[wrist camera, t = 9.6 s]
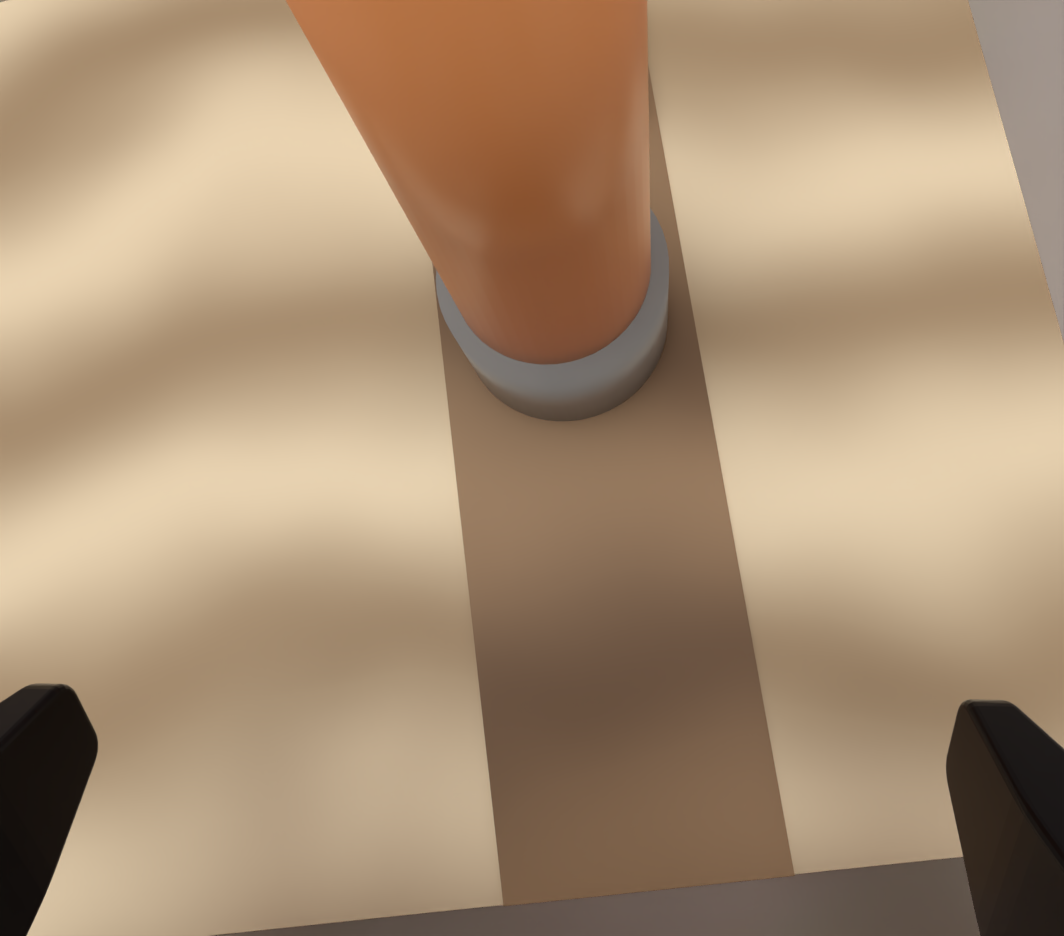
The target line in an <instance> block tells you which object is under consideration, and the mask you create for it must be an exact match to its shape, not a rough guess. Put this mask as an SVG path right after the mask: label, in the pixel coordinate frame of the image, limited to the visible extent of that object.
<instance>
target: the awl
mask: <svg viewBox="0 0 1064 936" xmlns="http://www.w3.org/2000/svg"><path fill="white" fill-rule="evenodd" d="M286 2H287V4H288V6H289V7H290V9H291V11H292V13H293V15H294V16H295V18H296V20H297V22H298V24H299V25H300V27H301V29H302V31H303V32H304V34H305V36H306V38H307V40H308V41H309V43H310V45H311V47H312V49H313V50H314V52H315V54H316V56H317V57H318V59H319V61H320V63H321V65H322V66H323V68H324V70H325V72H326V74H327V75H328V77H329V79H330V81H331V82H332V84H333V86H334V88H335V90H336V91H337V93H338V95H339V97H340V99H341V100H342V102H343V104H344V106H345V107H346V109H347V111H348V113H349V115H350V116H351V118H352V120H353V122H354V124H355V125H356V127H357V129H358V131H359V132H360V134H361V136H362V138H363V140H364V141H365V143H366V145H367V147H368V149H369V150H370V152H371V154H372V156H373V157H374V159H375V161H376V163H377V165H378V166H379V168H380V170H381V172H382V174H383V175H384V177H385V179H386V181H387V182H388V184H389V186H390V188H391V190H392V191H393V193H394V195H395V197H396V199H397V200H398V202H399V204H400V206H401V207H402V209H403V211H404V213H405V215H406V216H407V218H408V220H409V222H410V224H411V225H412V227H413V229H414V231H415V232H416V234H417V236H418V238H419V240H420V241H421V243H422V245H423V247H424V249H425V250H426V252H427V254H428V256H429V257H430V259H431V261H432V263H433V265H434V266H435V268H436V289H437V297H438V301H439V305H440V309H441V312H442V314H443V317H444V320H445V322H446V324H447V325H448V327H449V329H450V331H451V333H452V334H453V336H454V338H455V339H456V341H457V342H458V344H459V346H460V347H461V349H462V350H463V352H464V354H465V355H466V357H467V358H468V360H469V362H470V363H471V365H472V367H473V368H474V370H475V371H476V373H477V375H478V376H479V378H480V379H481V381H482V382H483V383H484V385H485V386H486V387H487V389H488V390H489V391H490V392H491V393H492V394H493V395H494V396H495V397H496V398H498V399H499V400H500V401H502V402H503V403H504V404H506V405H507V406H509V407H511V408H512V409H514V410H516V411H518V412H520V413H523V414H525V415H528V416H530V417H534V418H538V419H542V420H549V421H575V420H582V419H586V418H590V417H594V416H597V415H600V414H602V413H605V412H607V411H609V410H611V409H613V408H615V407H616V406H618V405H620V404H622V403H623V402H624V401H626V400H627V399H628V398H630V397H631V396H632V395H633V394H634V393H635V392H636V391H637V390H638V389H639V388H640V387H642V385H643V384H644V383H645V382H646V380H647V379H648V378H649V377H650V375H651V373H652V372H653V370H654V368H655V367H656V365H657V363H658V361H659V358H660V356H661V354H662V351H663V347H664V344H665V340H666V333H667V319H668V288H669V256H668V249H667V243H666V240H665V237H664V233H663V230H662V228H661V226H660V224H659V222H658V219H657V217H656V216H655V214H654V213H653V211H652V210H651V208H650V164H649V92H648V21H647V0H286Z"/></svg>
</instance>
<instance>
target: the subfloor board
mask: <svg viewBox="0 0 1064 936" xmlns="http://www.w3.org/2000/svg"><path fill="white" fill-rule="evenodd" d="M647 21H648V92H649V164H650V208H651V210H652V211H653V213H654V214H655V216H656V217H657V219H658V222H659V224H660V226H661V228H662V230H663V233H664V237H665V240H666V243H667V249H668V256H669V288H668V319H667V333H666V340H665V344H664V347H663V351H662V354H661V356H660V358H659V361H658V363H657V365H656V367H655V368H654V370H653V372H652V373H651V375H650V377H649V378H648V379H647V380H646V382H645V383H644V384H643V385H642V387H640V388H639V389H638V390H637V391H636V392H635V393H634V394H633V395H632V396H631V397H630V398H628V399H627V400H626V401H624V402H623V403H622V404H620V405H618V406H616V407H615V408H613V409H611V410H609V411H607V412H605V413H602V414H600V415H597V416H594V417H590V418H586V419H582V420H575V421H549V420H542V419H538V418H534V417H530V416H528V415H525V414H523V413H520V412H518V411H516V410H514V409H512V408H511V407H509V406H507V405H506V404H504V403H503V402H502V401H500V400H499V399H498V398H496V397H495V396H494V395H493V394H492V393H491V392H490V391H489V390H488V389H487V387H486V386H485V385H484V383H483V382H482V381H481V379H480V378H479V376H478V375H477V373H476V371H475V370H474V368H473V367H472V365H471V363H470V362H469V360H468V358H467V357H466V355H465V354H464V352H463V350H462V349H461V347H460V346H459V344H458V342H457V341H456V339H455V338H454V336H453V334H452V333H451V331H450V329H449V327H448V325H447V324H446V322H445V320H444V317H443V314H442V312H441V309H440V305H439V301H438V297H437V289H436V268H435V266H434V265H433V263H432V261H431V259H430V257H429V256H428V254H427V252H426V250H425V249H424V247H423V245H422V243H421V241H420V240H419V238H418V236H417V234H416V232H415V231H414V229H413V227H412V225H411V224H410V222H409V220H408V218H407V216H406V215H405V213H404V211H403V209H402V207H401V206H400V204H399V202H398V200H397V199H396V197H395V195H394V193H393V191H392V190H391V188H390V186H389V184H388V182H387V181H386V179H385V177H384V175H383V174H382V172H381V170H380V168H379V166H378V165H377V163H376V161H375V159H374V157H373V156H372V154H371V152H370V150H369V149H368V147H367V145H366V143H365V141H364V140H363V138H362V136H361V134H360V132H359V131H358V129H357V127H356V125H355V124H354V122H353V120H352V118H351V116H350V115H349V113H348V111H347V109H346V107H345V106H344V104H343V102H342V100H341V99H340V97H339V95H338V93H337V91H336V90H335V88H334V86H333V84H332V82H331V81H330V79H329V77H328V75H327V74H326V72H325V70H324V68H323V66H322V65H321V63H320V61H319V59H318V57H317V56H316V54H315V52H314V50H313V49H312V47H311V45H310V43H309V41H308V40H307V38H306V36H305V34H304V32H303V31H302V29H301V27H300V25H299V24H298V22H297V20H296V18H295V16H294V15H293V13H292V11H291V9H290V7H289V6H288V4H287V2H286V0H9V1H5V2H0V702H2V701H3V700H5V699H6V698H8V697H9V696H11V695H12V694H14V693H15V692H17V691H18V690H20V689H22V688H23V687H25V686H27V685H30V684H35V683H49V684H66V685H68V686H70V687H71V688H73V689H74V691H75V692H76V694H77V696H78V698H79V700H80V702H81V704H82V706H83V708H84V710H85V712H86V714H87V716H88V718H89V720H90V722H91V724H92V726H93V728H94V730H95V732H96V734H97V738H98V753H97V757H96V761H95V764H94V767H93V769H92V772H91V775H90V777H89V780H88V783H87V786H86V788H85V791H84V794H83V796H82V799H81V802H80V805H79V807H78V810H77V813H76V815H75V818H74V821H73V824H72V826H71V829H70V832H69V834H68V837H67V840H66V843H65V845H64V848H63V851H62V853H61V856H60V859H59V862H58V864H57V867H56V870H55V872H54V875H53V877H52V880H51V882H50V885H49V887H48V890H47V892H46V895H45V897H44V899H43V902H42V904H41V906H40V908H39V910H38V913H37V915H36V917H35V919H34V921H33V923H32V926H31V928H30V930H29V932H28V934H27V936H211V935H220V934H230V933H239V932H249V931H258V930H268V929H277V928H287V927H296V926H306V925H316V924H325V923H335V922H344V921H354V920H363V919H373V918H382V917H392V916H401V915H411V914H421V913H430V912H440V911H449V910H459V909H468V908H478V907H487V906H497V905H503V906H511V905H520V904H530V903H539V902H549V901H558V900H568V899H578V898H587V897H597V896H606V895H616V894H625V893H635V892H644V891H654V890H664V889H673V888H683V887H692V886H702V885H711V884H721V883H730V882H740V881H750V880H759V879H769V878H778V877H788V876H795V875H794V874H802V873H812V872H822V871H831V870H841V869H850V868H860V867H869V866H879V865H888V864H898V863H907V862H917V861H927V860H936V859H946V858H955V857H963V854H962V849H961V844H960V840H959V835H958V830H957V826H956V821H955V816H954V812H953V807H952V802H951V798H950V793H949V789H948V784H947V777H946V757H947V753H948V748H949V744H950V740H951V736H952V732H953V728H954V724H955V719H956V715H957V711H958V708H959V706H960V705H961V703H962V702H963V701H965V700H969V699H985V700H1006V701H1009V702H1011V703H1013V704H1014V705H1016V706H1017V707H1018V708H1019V709H1021V710H1022V711H1023V712H1024V713H1025V714H1026V715H1027V716H1028V717H1029V718H1031V719H1032V720H1033V721H1034V722H1035V723H1036V724H1037V725H1038V726H1039V727H1041V728H1042V729H1043V730H1044V731H1045V732H1046V733H1047V734H1048V735H1049V736H1051V737H1052V738H1053V739H1054V740H1055V741H1056V742H1057V743H1058V744H1059V745H1061V746H1062V747H1063V748H1064V342H1063V338H1062V335H1061V331H1060V327H1059V324H1058V320H1057V317H1056V313H1055V310H1054V306H1053V302H1052V299H1051V295H1050V292H1049V288H1048V285H1047V281H1046V277H1045V274H1044V270H1043V267H1042V263H1041V260H1040V256H1039V252H1038V249H1037V245H1036V242H1035V238H1034V235H1033V231H1032V227H1031V224H1030V220H1029V217H1028V213H1027V210H1026V206H1025V202H1024V199H1023V195H1022V192H1021V188H1020V185H1019V181H1018V177H1017V174H1016V170H1015V167H1014V163H1013V160H1012V156H1011V152H1010V149H1009V145H1008V142H1007V138H1006V135H1005V131H1004V127H1003V124H1002V120H1001V117H1000V113H999V110H998V106H997V102H996V99H995V95H994V92H993V88H992V85H991V81H990V77H989V74H988V70H987V67H986V63H985V60H984V56H983V52H982V49H981V45H980V42H979V38H978V35H977V31H976V27H975V24H974V20H973V17H972V13H971V10H970V6H969V2H968V0H647Z"/></svg>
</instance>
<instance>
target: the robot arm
mask: <svg viewBox="0 0 1064 936" xmlns="http://www.w3.org/2000/svg"><path fill="white" fill-rule="evenodd" d="M97 753H98V738H97V734H96V732H95V730H94V728H93V726H92V724H91V722H90V720H89V718H88V716H87V714H86V712H85V710H84V708H83V706H82V704H81V702H80V700H79V698H78V696H77V694H76V692H75V691H74V689H73V688H71V687H70V686H68V685H66V684H49V683H35V684H30V685H27V686H25V687H23V688H22V689H20V690H18V691H17V692H15V693H14V694H12V695H11V696H9V697H8V698H6V699H5V700H3V701H2V702H0V936H27V934H28V932H29V930H30V928H31V926H32V923H33V921H34V919H35V917H36V915H37V913H38V910H39V908H40V906H41V904H42V902H43V899H44V897H45V895H46V892H47V890H48V887H49V885H50V882H51V880H52V877H53V875H54V872H55V870H56V867H57V864H58V862H59V859H60V856H61V853H62V851H63V848H64V845H65V843H66V840H67V837H68V834H69V832H70V829H71V826H72V824H73V821H74V818H75V815H76V813H77V810H78V807H79V805H80V802H81V799H82V796H83V794H84V791H85V788H86V786H87V783H88V780H89V777H90V775H91V772H92V769H93V767H94V764H95V761H96V757H97ZM946 777H947V784H948V789H949V793H950V798H951V802H952V807H953V812H954V816H955V821H956V826H957V830H958V835H959V840H960V844H961V849H962V854H963V858H964V863H965V868H966V872H967V877H968V882H969V886H970V891H971V895H972V900H973V905H974V909H975V914H976V919H977V923H978V927H979V931H980V935H981V936H1064V748H1063V747H1062V746H1061V745H1059V744H1058V743H1057V742H1056V741H1055V740H1054V739H1053V738H1052V737H1051V736H1049V735H1048V734H1047V733H1046V732H1045V731H1044V730H1043V729H1042V728H1041V727H1039V726H1038V725H1037V724H1036V723H1035V722H1034V721H1033V720H1032V719H1031V718H1029V717H1028V716H1027V715H1026V714H1025V713H1024V712H1023V711H1022V710H1021V709H1019V708H1018V707H1017V706H1016V705H1014V704H1013V703H1011V702H1009V701H1006V700H985V699H969V700H965V701H963V702H962V703H961V705H960V706H959V708H958V711H957V715H956V719H955V724H954V728H953V732H952V736H951V740H950V744H949V748H948V753H947V757H946Z"/></svg>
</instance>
